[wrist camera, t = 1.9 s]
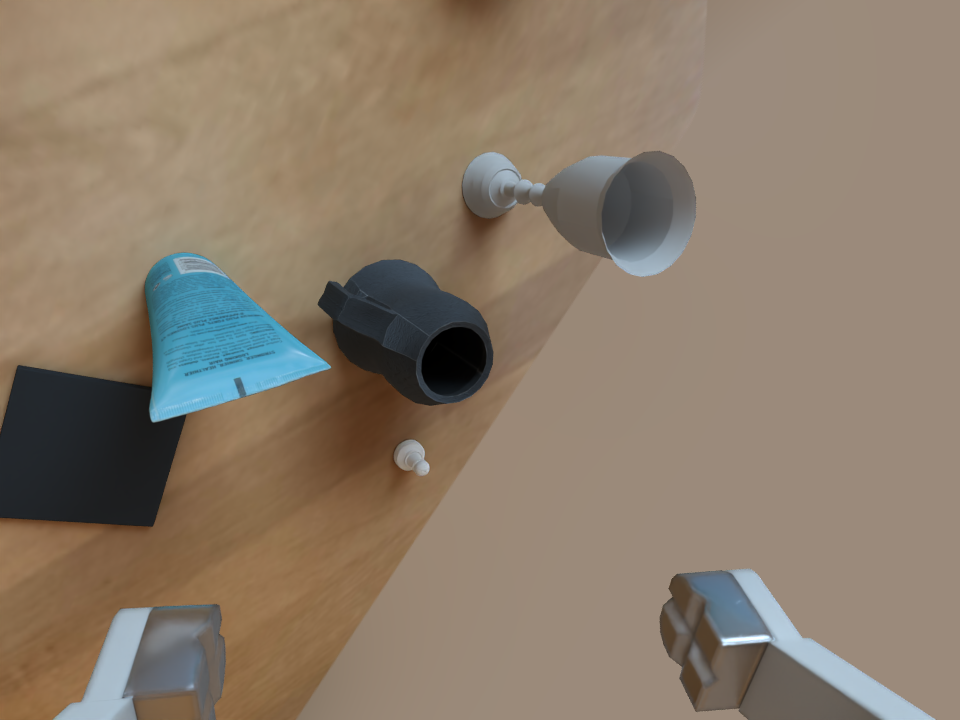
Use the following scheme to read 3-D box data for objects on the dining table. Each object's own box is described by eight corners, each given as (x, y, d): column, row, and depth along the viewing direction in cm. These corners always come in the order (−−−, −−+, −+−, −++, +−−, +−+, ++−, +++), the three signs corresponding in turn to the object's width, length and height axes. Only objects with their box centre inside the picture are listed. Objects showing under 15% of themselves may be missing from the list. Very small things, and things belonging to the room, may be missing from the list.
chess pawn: (410, 470, 57) (427, 490, 54) (387, 460, 55) (403, 479, 52) (426, 445, 57) (444, 463, 54) (404, 434, 55) (421, 452, 52)
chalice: (543, 180, 54) (714, 206, 39) (496, 247, 54) (650, 299, 39) (484, 118, 50) (651, 122, 35) (433, 192, 50) (579, 226, 35)
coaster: (17, 364, 40) (17, 367, 40) (190, 393, 46) (192, 396, 45) (-20, 512, 42) (-21, 516, 41) (152, 522, 47) (153, 527, 47)
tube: (143, 341, 43) (176, 473, 27) (111, 271, 41) (127, 371, 25) (255, 303, 46) (343, 404, 30) (231, 236, 44) (312, 306, 28)
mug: (461, 288, 53) (538, 325, 44) (411, 388, 54) (477, 445, 45) (331, 220, 47) (391, 247, 37) (275, 335, 47) (321, 389, 38)
